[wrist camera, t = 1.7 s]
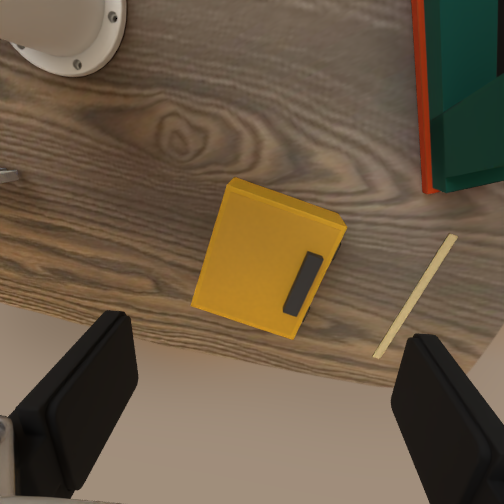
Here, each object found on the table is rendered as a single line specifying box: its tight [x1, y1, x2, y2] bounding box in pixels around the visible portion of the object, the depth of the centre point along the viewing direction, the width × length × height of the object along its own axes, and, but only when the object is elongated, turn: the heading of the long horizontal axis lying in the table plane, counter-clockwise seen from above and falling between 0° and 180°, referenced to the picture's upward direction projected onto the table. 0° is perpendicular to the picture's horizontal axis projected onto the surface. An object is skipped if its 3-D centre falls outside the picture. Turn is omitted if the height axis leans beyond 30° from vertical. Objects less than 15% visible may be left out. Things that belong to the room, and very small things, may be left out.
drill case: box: [191, 177, 347, 340], centre depth 33 cm, size 12×14×6 cm
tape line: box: [372, 233, 458, 359], centre depth 37 cm, size 1×18×1 cm, turn 161°
